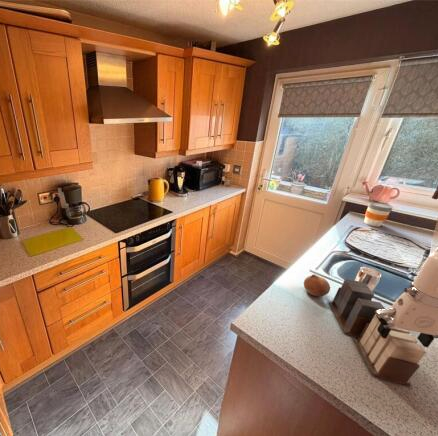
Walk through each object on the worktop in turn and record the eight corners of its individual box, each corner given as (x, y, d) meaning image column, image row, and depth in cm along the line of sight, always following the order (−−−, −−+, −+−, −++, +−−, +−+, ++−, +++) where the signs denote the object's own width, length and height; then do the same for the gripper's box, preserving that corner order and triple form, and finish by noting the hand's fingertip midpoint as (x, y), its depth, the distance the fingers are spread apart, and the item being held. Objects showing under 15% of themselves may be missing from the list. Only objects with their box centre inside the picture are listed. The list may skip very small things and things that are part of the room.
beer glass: (365, 307, 97) (381, 279, 90) (345, 298, 101) (358, 271, 95) (368, 299, 101) (383, 272, 94) (348, 291, 105) (361, 264, 99)
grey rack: (353, 308, 96) (367, 281, 90) (374, 340, 83) (392, 312, 77) (328, 302, 99) (340, 277, 93) (344, 333, 85) (359, 305, 79)
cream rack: (384, 347, 80) (403, 318, 74) (409, 385, 69) (434, 355, 63) (353, 339, 83) (369, 311, 77) (372, 375, 72) (393, 346, 66)
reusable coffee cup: (385, 229, 161) (395, 209, 154) (362, 224, 167) (371, 205, 161) (381, 222, 170) (390, 203, 164) (359, 218, 177) (367, 200, 170)
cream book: (392, 362, 74) (412, 334, 69) (397, 369, 72) (418, 341, 67) (368, 356, 76) (385, 329, 71) (372, 363, 74) (390, 335, 69)
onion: (302, 293, 108) (299, 272, 108) (325, 292, 105) (322, 270, 105) (310, 301, 99) (306, 278, 99) (336, 300, 96) (332, 276, 96)
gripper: (397, 298, 62) (372, 341, 69) (486, 313, 56) (449, 358, 64) (381, 280, 68) (360, 321, 75) (460, 292, 63) (429, 335, 70)
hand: (401, 338), depth 69 cm, fingers open, 9 cm apart
